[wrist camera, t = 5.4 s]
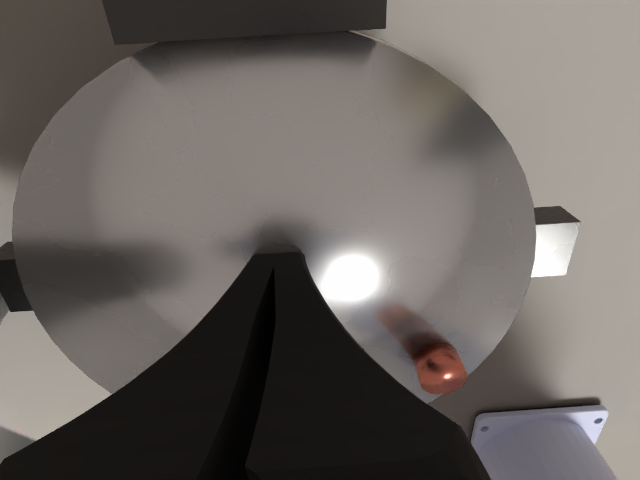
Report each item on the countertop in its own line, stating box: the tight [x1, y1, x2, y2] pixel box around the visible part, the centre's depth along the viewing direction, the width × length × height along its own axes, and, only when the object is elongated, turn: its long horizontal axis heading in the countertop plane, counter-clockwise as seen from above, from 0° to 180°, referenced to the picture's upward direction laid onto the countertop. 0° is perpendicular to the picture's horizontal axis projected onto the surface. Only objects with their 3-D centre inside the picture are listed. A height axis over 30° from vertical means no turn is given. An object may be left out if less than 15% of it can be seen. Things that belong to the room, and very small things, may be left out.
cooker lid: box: [12, 0, 536, 404], centre depth 11 cm, size 15×14×2 cm
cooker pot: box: [0, 206, 581, 312], centre depth 15 cm, size 13×19×6 cm
